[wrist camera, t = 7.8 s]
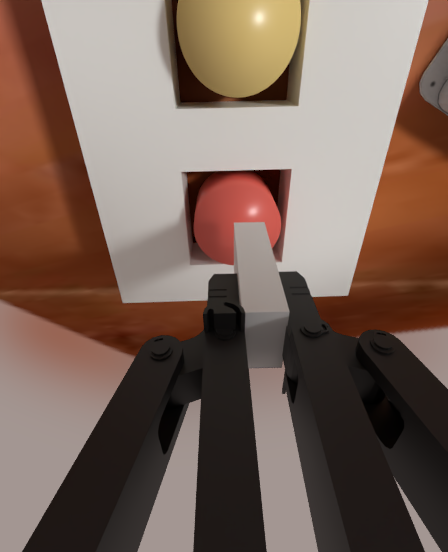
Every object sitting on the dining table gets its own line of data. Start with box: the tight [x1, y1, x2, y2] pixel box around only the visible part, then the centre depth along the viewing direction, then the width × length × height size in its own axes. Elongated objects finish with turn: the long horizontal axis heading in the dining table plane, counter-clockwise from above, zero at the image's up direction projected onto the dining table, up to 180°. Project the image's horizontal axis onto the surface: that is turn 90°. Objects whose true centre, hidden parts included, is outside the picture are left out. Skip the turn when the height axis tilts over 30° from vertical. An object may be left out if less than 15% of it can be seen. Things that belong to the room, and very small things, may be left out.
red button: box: [194, 170, 281, 265], centre depth 19 cm, size 5×5×4 cm
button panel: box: [41, 0, 428, 303], centre depth 14 cm, size 16×30×3 cm, turn 1°
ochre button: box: [177, 0, 301, 98], centre depth 14 cm, size 5×5×4 cm
